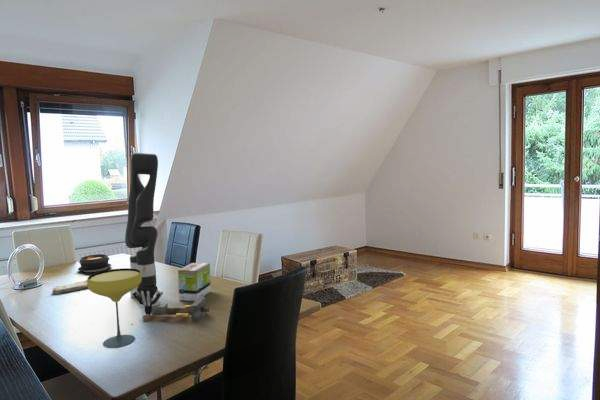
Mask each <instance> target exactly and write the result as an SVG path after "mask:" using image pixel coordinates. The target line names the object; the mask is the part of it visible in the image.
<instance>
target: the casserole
mask: <svg viewBox="0 0 600 400" xmlns="http://www.w3.org/2000/svg"><path fill="white" fill-rule="evenodd" d="M109 260H110V258H109V256H108V255H107V254H103V253H102V254H99V253H98V254H96V253H95V254H90V255H85V256H82V257H80V260H79V261H78V263H79V264H80V267H78V268H77V271H80V272H84V273H98V272H101V271H106V270H109V268H110V267H112V264H111V263H109Z"/></svg>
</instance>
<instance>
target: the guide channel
mask: <svg viewBox="0 0 600 400" xmlns="http://www.w3.org/2000/svg"><path fill="white" fill-rule="evenodd" d="M209 312H210V307H209V306H207V297H206V296H203V297H199V298H198V299H197V300H196V301H193V303H192V304H191V305H190V304H189V305H188V304H187V305H186V304H185V305H184V306H168V315H152V314H150V315H146V314H143V316H142V322H143V323H181V324H182V323H185V324H186V323H189V324H191V323H192V324H193V323H194V324H199V322H200V321H201V320H202V319H203V318H204V317H205V315H206V314H207V313H209Z"/></svg>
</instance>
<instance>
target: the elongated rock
mask: <svg viewBox="0 0 600 400" xmlns="http://www.w3.org/2000/svg"><path fill="white" fill-rule="evenodd" d="M81 290H83V291H84V290H89V289H88V286H87V279H85V280H82V281H76V282H73V283H69V284H63V285H59V286H55V287H54V288H53V289H52V295H61V294H66V293H72V292H78V291H81Z"/></svg>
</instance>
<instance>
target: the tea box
mask: <svg viewBox="0 0 600 400" xmlns="http://www.w3.org/2000/svg"><path fill="white" fill-rule="evenodd" d="M177 271H178V272H177V273H178V274H177V276H178V280H177V281H178V299H179V301H189V302H190V301H191V302H192V301H193V302H195V301H196V300H197V299H198V298H199V297H205V296H206V295H208V294H209V293H210V292H211V291H212V290H211V289H212V288H211V265H210V263H207V262H205V263H204V262H191V263H189V264H188V265H185V266H183V267H181V268H180V269H178V270H177Z"/></svg>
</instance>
